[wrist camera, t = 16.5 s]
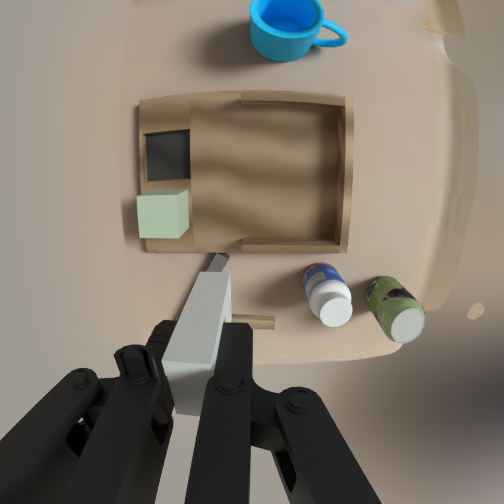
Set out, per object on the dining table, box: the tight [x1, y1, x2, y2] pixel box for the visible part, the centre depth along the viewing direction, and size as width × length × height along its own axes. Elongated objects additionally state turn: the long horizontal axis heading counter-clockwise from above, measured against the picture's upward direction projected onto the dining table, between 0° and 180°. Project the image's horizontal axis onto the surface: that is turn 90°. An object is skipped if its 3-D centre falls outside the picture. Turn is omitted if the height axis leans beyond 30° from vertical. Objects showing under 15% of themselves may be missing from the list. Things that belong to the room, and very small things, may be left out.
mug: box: [250, 0, 348, 62], centre depth 24 cm, size 12×8×8 cm
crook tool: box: [206, 253, 230, 272], centre depth 40 cm, size 5×14×2 cm, turn 149°
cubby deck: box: [139, 91, 354, 253], centre depth 32 cm, size 21×26×4 cm
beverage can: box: [366, 276, 425, 343], centre depth 34 cm, size 6×7×12 cm
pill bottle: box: [303, 263, 352, 327], centre depth 35 cm, size 6×5×10 cm
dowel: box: [231, 314, 275, 330], centre depth 41 cm, size 2×12×2 cm, turn 87°
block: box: [136, 189, 189, 238], centre depth 32 cm, size 5×5×5 cm
